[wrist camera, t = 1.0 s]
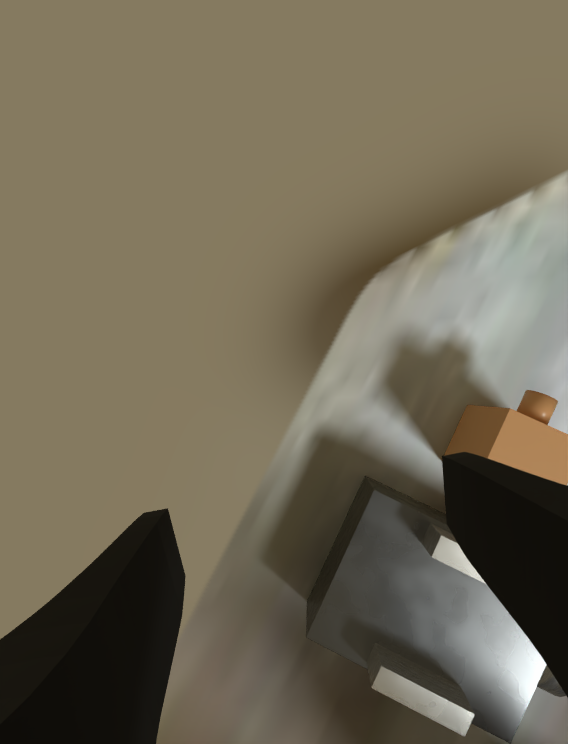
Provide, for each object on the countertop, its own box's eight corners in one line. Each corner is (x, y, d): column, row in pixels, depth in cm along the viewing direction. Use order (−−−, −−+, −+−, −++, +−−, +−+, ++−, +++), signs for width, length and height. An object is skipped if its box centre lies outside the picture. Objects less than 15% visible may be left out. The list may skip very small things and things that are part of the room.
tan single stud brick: (536, 408, 27) (599, 413, 21) (499, 488, 27) (552, 515, 21) (477, 382, 27) (523, 379, 21) (441, 460, 27) (477, 480, 21)
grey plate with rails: (570, 574, 26) (646, 627, 20) (510, 706, 26) (569, 798, 20) (365, 475, 28) (379, 499, 22) (307, 601, 27) (305, 660, 21)
